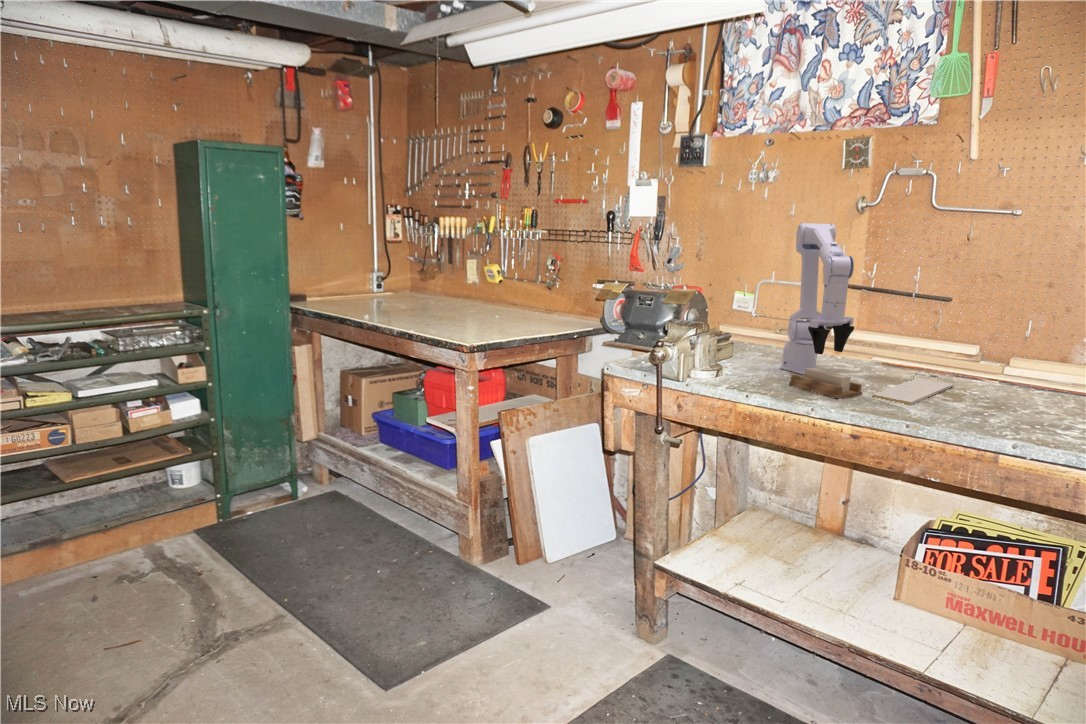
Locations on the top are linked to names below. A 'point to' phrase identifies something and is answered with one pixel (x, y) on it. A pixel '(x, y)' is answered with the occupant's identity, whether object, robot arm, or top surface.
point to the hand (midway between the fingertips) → (828, 352)
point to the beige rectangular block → (828, 377)
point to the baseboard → (913, 390)
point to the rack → (824, 387)
